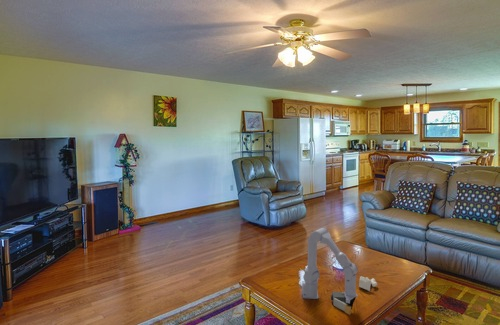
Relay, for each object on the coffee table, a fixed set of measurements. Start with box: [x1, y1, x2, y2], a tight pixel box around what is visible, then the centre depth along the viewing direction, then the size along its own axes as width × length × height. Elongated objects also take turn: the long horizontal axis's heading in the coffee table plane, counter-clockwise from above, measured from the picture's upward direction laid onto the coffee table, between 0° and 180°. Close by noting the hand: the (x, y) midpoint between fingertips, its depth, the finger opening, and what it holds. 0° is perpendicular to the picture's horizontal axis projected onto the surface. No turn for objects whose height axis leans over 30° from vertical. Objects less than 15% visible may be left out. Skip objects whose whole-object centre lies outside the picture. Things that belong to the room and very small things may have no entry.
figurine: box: [358, 275, 378, 292], centre depth 196 cm, size 7×9×15 cm
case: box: [330, 291, 347, 304], centre depth 179 cm, size 9×6×5 cm, turn 84°
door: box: [332, 297, 352, 316], centre depth 171 cm, size 12×1×5 cm, turn 37°
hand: (349, 308), depth 169 cm, fingers closed
